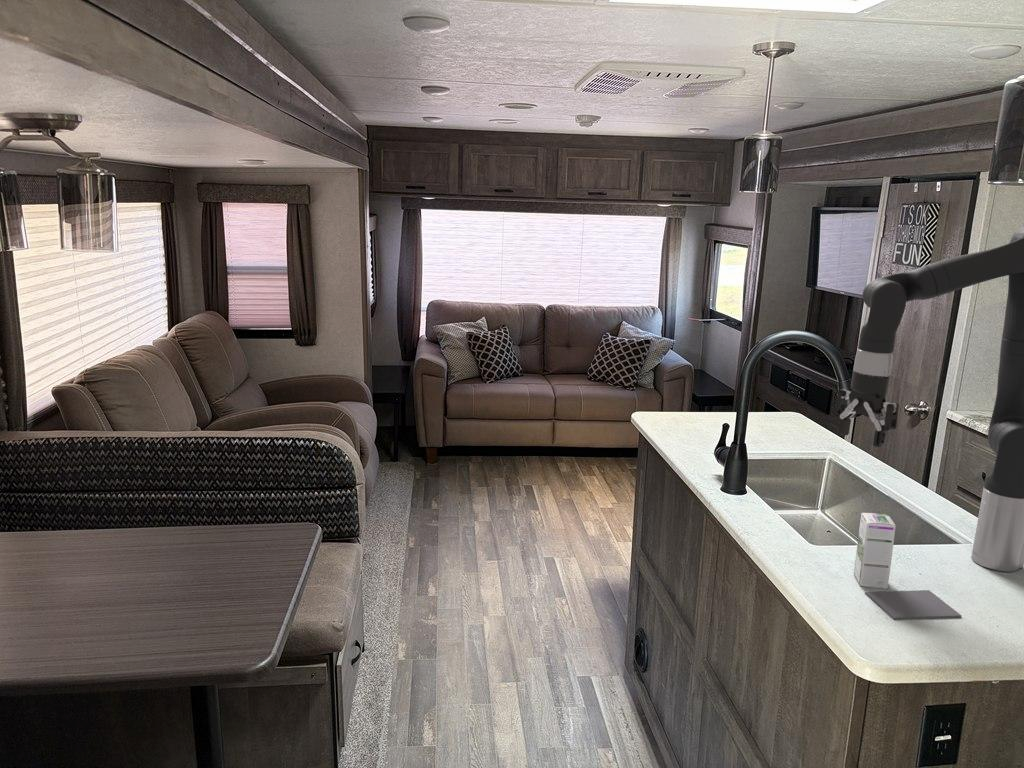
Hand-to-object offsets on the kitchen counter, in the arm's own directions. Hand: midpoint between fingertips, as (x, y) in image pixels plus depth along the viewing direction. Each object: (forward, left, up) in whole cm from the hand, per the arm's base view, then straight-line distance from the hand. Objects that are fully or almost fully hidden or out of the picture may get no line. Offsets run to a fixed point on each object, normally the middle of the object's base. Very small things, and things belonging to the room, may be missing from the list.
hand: (860, 440), depth 171 cm
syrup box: (+3, +16, -27) cm, 31 cm away
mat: (0, +26, -26) cm, 37 cm away
